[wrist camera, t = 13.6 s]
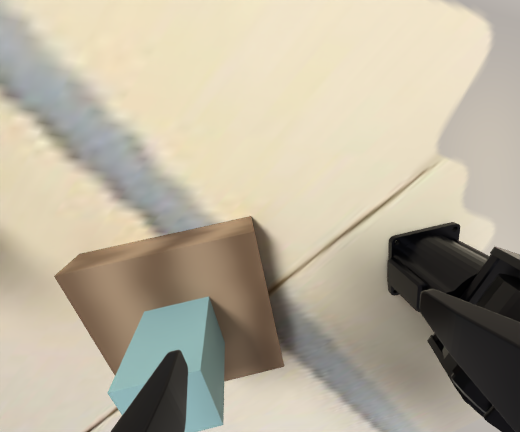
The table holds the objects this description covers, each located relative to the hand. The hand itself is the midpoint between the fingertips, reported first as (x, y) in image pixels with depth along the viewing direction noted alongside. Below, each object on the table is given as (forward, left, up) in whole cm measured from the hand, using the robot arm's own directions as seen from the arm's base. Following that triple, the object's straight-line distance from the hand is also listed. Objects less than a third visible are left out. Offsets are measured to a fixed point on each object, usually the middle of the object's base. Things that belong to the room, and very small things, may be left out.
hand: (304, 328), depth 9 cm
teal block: (+8, +7, -9) cm, 14 cm away
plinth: (+8, +7, -12) cm, 16 cm away
